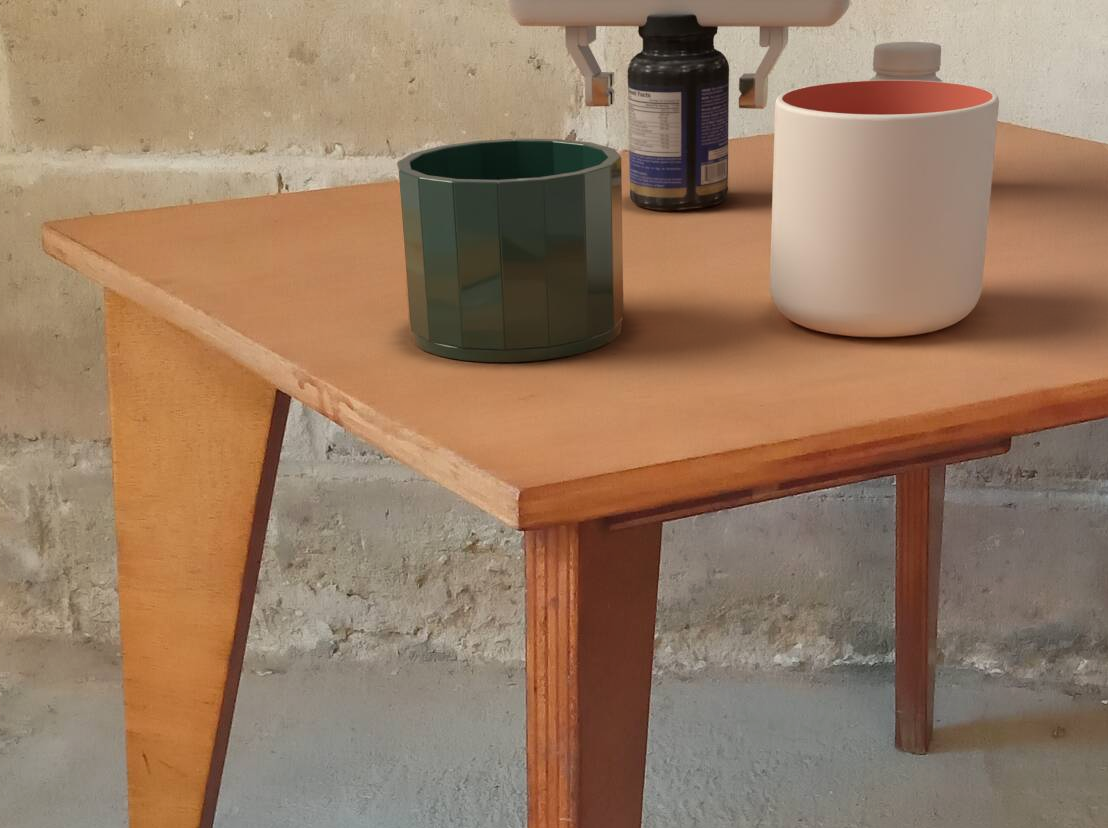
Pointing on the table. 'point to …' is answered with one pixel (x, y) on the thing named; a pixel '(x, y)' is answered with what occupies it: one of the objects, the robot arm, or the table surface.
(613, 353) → the table surface
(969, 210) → the cup
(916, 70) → the supplement bottle
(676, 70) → the pill bottle
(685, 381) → the table surface
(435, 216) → the green cup
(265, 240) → the table surface
